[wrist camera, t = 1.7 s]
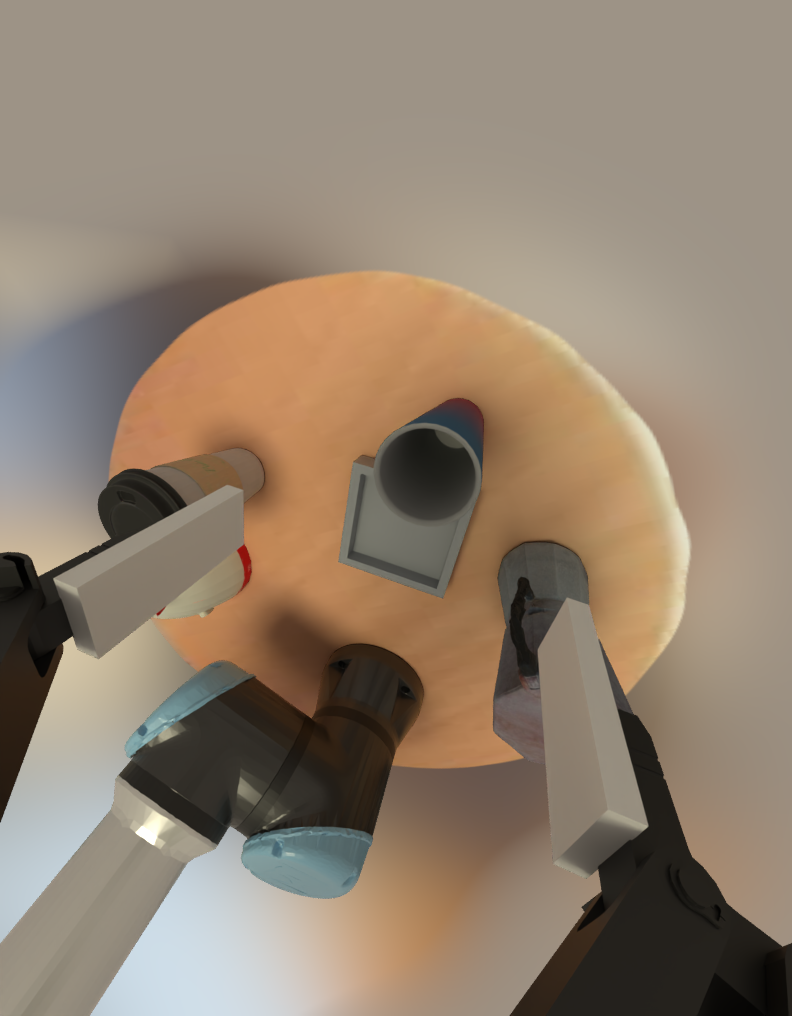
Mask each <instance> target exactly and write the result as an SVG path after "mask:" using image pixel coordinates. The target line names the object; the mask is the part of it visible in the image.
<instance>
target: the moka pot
mask: <svg viewBox="0 0 792 1016" xmlns="http://www.w3.org/2000/svg"><path fill="white" fill-rule="evenodd" d="M498 585H499V589H500V595H501V601H502V606H503V611H504V618H505V623H506V626H507V628H506V629H505V634H504V639H503V645H502V651H501V657H500V663H499V669H498V675H497V681H496V686H495V692H494V698H493V730H494V732H495V734H497V735H498V736H499V737H500V738H501V739H502V740H504V741H505V742H506V743H508V744H509V745H510V746H511V747H513V748H514V749H515V750H516V751H517V752H518V753H520V754H521V755H522V756H523V757H524V758H526V759H527V760H529V761H532V762H536V763H541V764H545V765H546V761H545V747H544V732H543V718H542V704H541V690H540V676H539V662H538V648H539V646H540V645H541V643H542V641H543V639H544V637H545V636H546V634H547V632H548V630H549V628H550V627H551V625H552V623H553V621H554V620H555V618H556V616H557V614H558V612H559V611H560V609H561V607H562V605H563V603H564V602H565V600H566V598H570V599H573V600H576V601H579V602H582V603H585V604H588V605H589V592H588V576H587V573H586V571H585V568H584V566H583V564H582V562H581V560H580V558H579V557H578V556H577V555H576V554H574V553H573V552H572V551H570V550H569V549H567V548H565V547H562V546H560V545H557V544H553V543H548V542H534V543H524V544H522V545H520V546H518V547H517V548H515V549H513V550H512V551H511V552H509V553H508V554H507V555H506V556H505V557H504V558H503V560H502V562H501V566H500V569H499V574H498ZM598 640H599V639H598ZM599 644H600V648H601V651H602V655H603V659H604V663H605V666H606V670H607V674H608V677H609V681H610V685H611V689H612V692H613V696H614V700H615V703H616V707H617V708H618V709H620V710H623V711H626V712H628V713H631V714H633V712H632V710H631V708H630V705H629V703H628V701H627V699H626V697H625V694H624V692H623V690H622V688H621V685H620V683H619V681H618V679H617V677H616V675H615V672H614V670H613V668H612V666H611V664H610V662H609V660H608V657H607V655H606V653H605V651H604V649H603V646H602V644H601V642H600V640H599Z"/></svg>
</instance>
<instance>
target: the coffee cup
mask: <svg viewBox="0 0 792 1016" xmlns="http://www.w3.org/2000/svg"><path fill="white" fill-rule="evenodd" d="M263 484H264V470H263V467H262V465H261V463H260V461H259V459H258V458H257V457H256V456H255V455H254V454H253V453H251V452H250V451H248V450H245V449H241V448H234V449H229V450H225V451H221V452H217V453H213V454H204V455H199V456H195V457H191V458H187V459H182V460H178V461H174V462H170V463H166V464H162V465H158V466H155V467H153V468H151V469H149V470H142V469H127V470H124V471H122V472H121V473H119V474H118V475H116V476H114V477H113V478H112V479H111V480H110V481H109V483H108V484H107V487H106V488H105V489H104V490H103V491H102V492H101V494H100V496H99V499H98V511H99V516H100V519H101V522H102V524H103V526H104V528H105V530H106V531H107V533H108V535H109V536H110V538H111V539H112V538H114V537H116V536H118V535H122V534H125V533H129V532H132V531H136V530H137V531H139V532H140V531H142V530H144V529H146V528H148V527H150V526H152V525H153V524H155V523H157V522H159V521H161V520H163V519H165V518H166V517H168V516H170V515H172V514H174V513H176V512H178V511H179V510H181V509H183V508H185V507H187V506H189V505H191V504H192V503H194V502H196V501H198V500H200V499H202V498H204V497H205V496H207V495H209V494H211V493H213V492H215V491H217V490H218V489H220V488H222V487H224V486H226V485H230V486H233V487H236V488H239V489H242V490H243V499H244V503H245V502H246V501H247V500H248V499H249V498H251V497H252V496H253V495H254V494H255V493H257V492H258V491H259V490H260V489H261V488H262V486H263Z"/></svg>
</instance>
